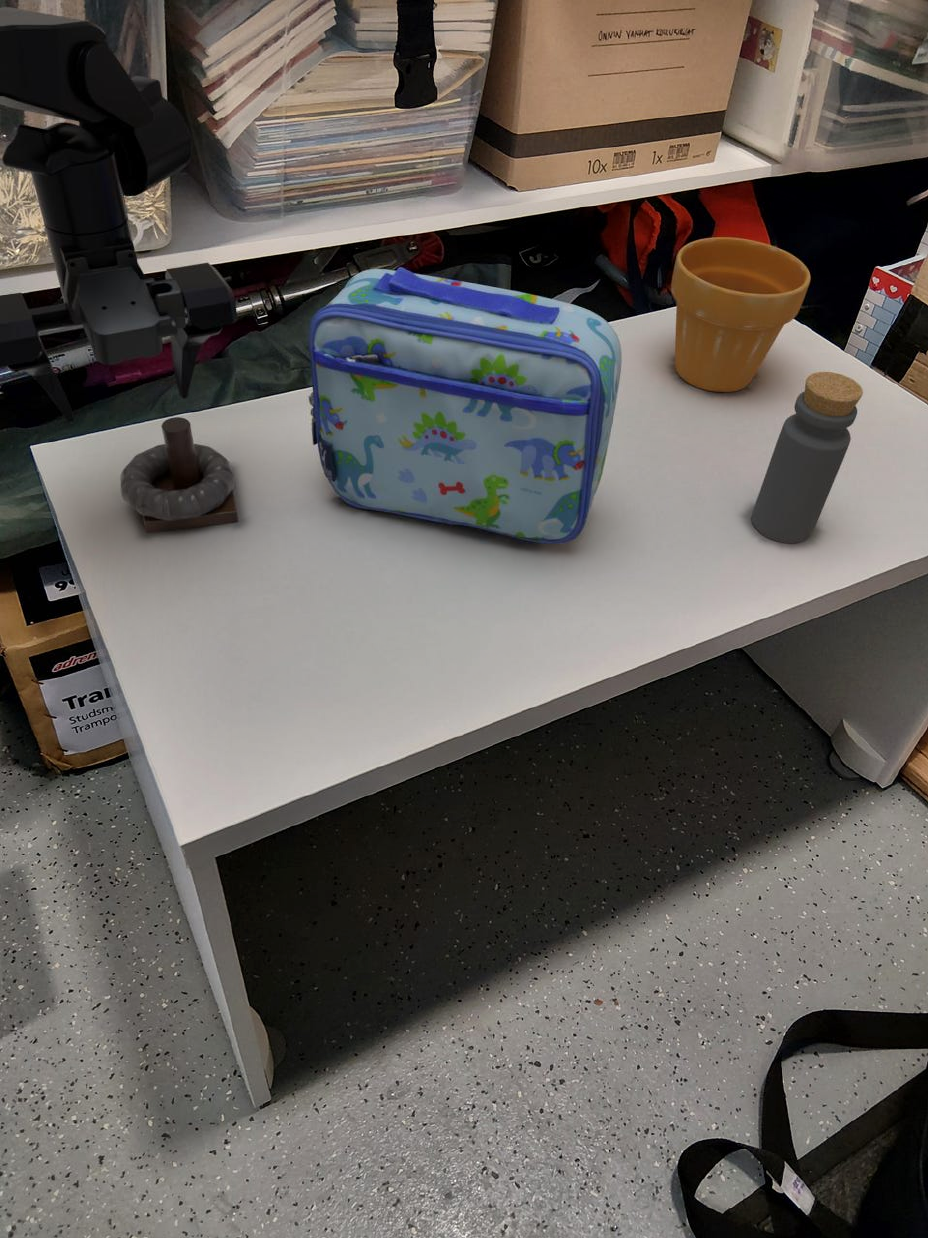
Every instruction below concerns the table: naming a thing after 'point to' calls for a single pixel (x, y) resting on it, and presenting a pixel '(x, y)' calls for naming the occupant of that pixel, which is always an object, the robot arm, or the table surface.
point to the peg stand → (185, 479)
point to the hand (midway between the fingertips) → (128, 408)
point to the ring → (176, 502)
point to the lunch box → (463, 403)
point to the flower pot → (732, 308)
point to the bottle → (807, 458)
